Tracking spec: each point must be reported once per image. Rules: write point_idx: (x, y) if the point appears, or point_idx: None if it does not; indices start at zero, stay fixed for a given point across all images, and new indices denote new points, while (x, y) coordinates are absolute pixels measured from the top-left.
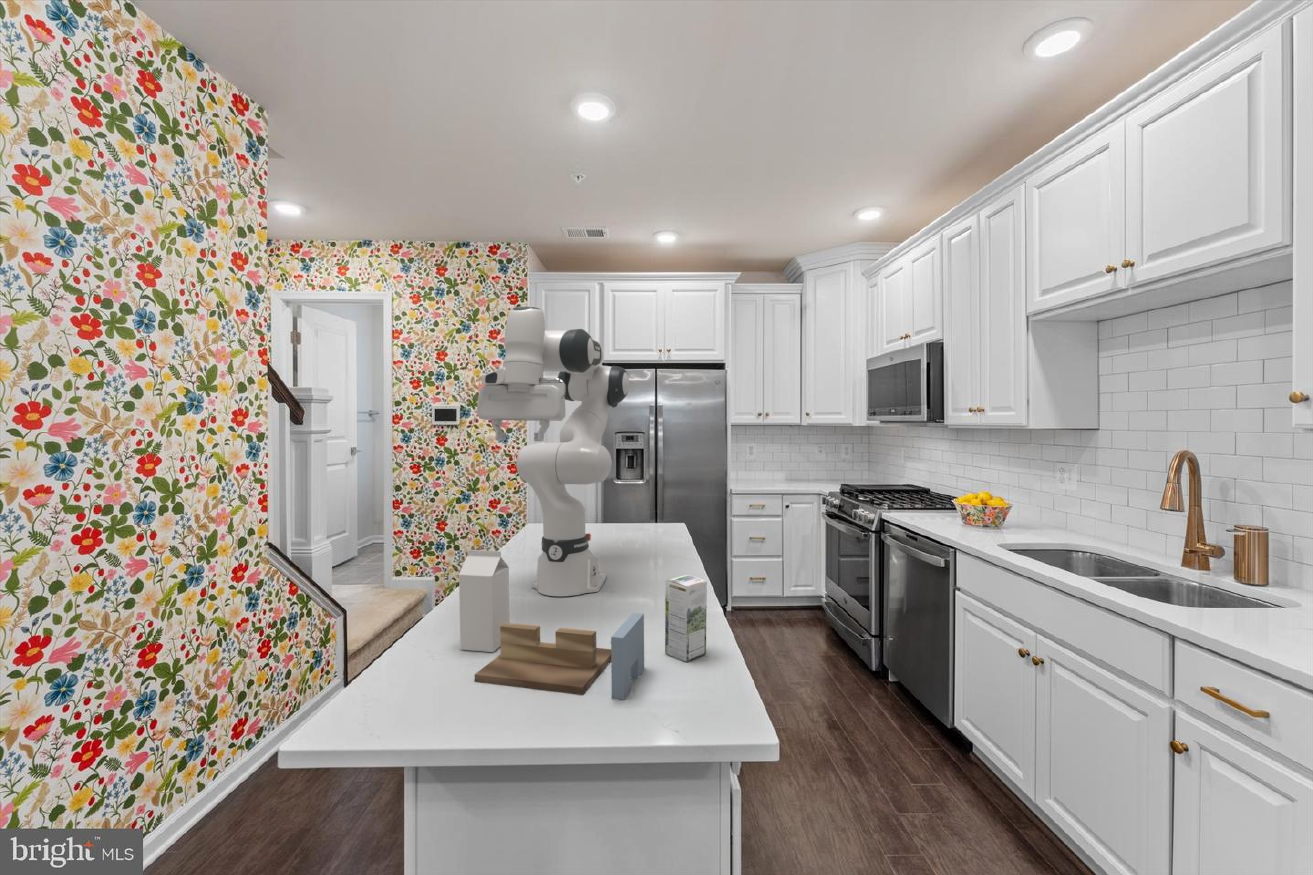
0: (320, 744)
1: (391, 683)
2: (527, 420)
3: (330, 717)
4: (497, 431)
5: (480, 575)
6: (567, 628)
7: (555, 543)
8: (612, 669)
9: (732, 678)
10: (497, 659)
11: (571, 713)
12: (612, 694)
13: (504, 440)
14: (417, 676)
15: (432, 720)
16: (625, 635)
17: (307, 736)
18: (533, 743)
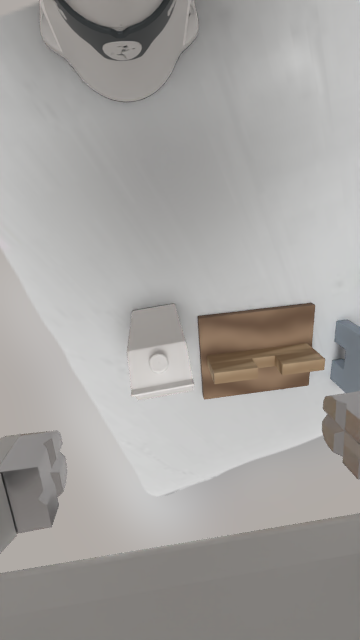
0: (162, 490)
1: (134, 423)
2: (308, 528)
3: (137, 471)
4: (7, 540)
5: (173, 393)
6: (291, 363)
7: (121, 38)
8: (345, 392)
9: None
10: (205, 368)
11: (306, 407)
12: (332, 380)
13: (59, 433)
14: (145, 406)
15: (212, 448)
16: None
17: (145, 488)
18: (295, 443)
